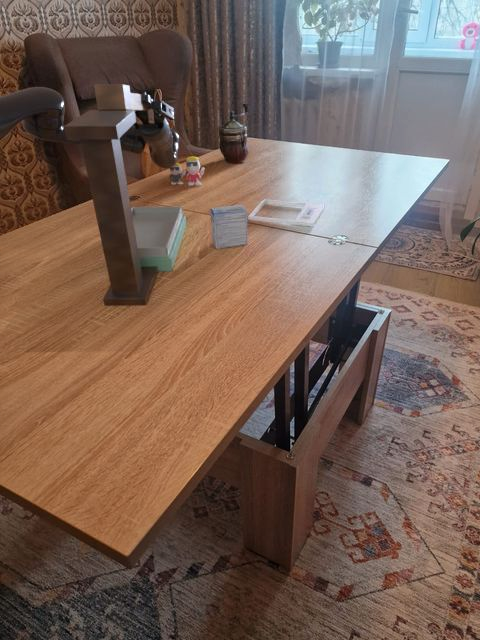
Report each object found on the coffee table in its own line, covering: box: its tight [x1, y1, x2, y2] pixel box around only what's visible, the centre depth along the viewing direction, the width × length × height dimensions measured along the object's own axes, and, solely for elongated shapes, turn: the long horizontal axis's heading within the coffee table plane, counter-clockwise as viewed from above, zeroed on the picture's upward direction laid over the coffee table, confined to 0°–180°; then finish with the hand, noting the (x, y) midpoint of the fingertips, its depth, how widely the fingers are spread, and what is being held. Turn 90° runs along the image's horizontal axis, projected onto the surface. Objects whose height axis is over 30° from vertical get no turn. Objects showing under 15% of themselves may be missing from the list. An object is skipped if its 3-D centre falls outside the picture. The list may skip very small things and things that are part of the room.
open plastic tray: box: [104, 206, 187, 272], centre depth 114 cm, size 14×27×5 cm, turn 1°
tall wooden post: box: [64, 109, 159, 307], centre depth 89 cm, size 8×14×32 cm, turn 1°
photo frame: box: [247, 198, 326, 228], centre depth 132 cm, size 15×1×18 cm
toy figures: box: [168, 156, 206, 187], centre depth 154 cm, size 12×4×8 cm, turn 79°
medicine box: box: [209, 204, 249, 250], centre depth 114 cm, size 8×4×9 cm, turn 108°
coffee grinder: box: [218, 103, 250, 164], centre depth 175 cm, size 13×15×18 cm
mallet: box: [93, 83, 147, 110], centre depth 95 cm, size 5×24×4 cm, turn 1°
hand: (134, 97), depth 102 cm, fingers closed on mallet, 3 cm apart
